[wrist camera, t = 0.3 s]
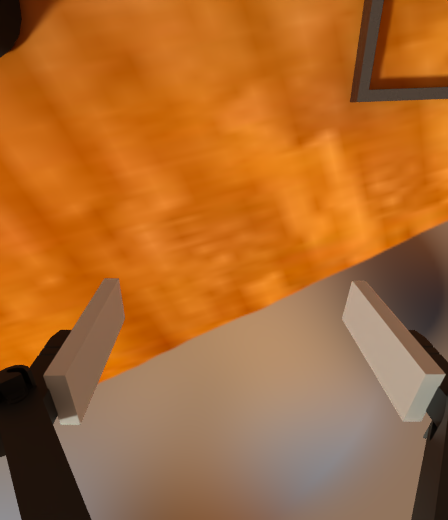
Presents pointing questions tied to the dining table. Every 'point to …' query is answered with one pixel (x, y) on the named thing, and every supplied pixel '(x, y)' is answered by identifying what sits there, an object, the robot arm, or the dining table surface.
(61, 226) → the dining table surface
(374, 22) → the square hollow frame
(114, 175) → the dining table surface
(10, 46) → the coffee jar
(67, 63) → the dining table surface
